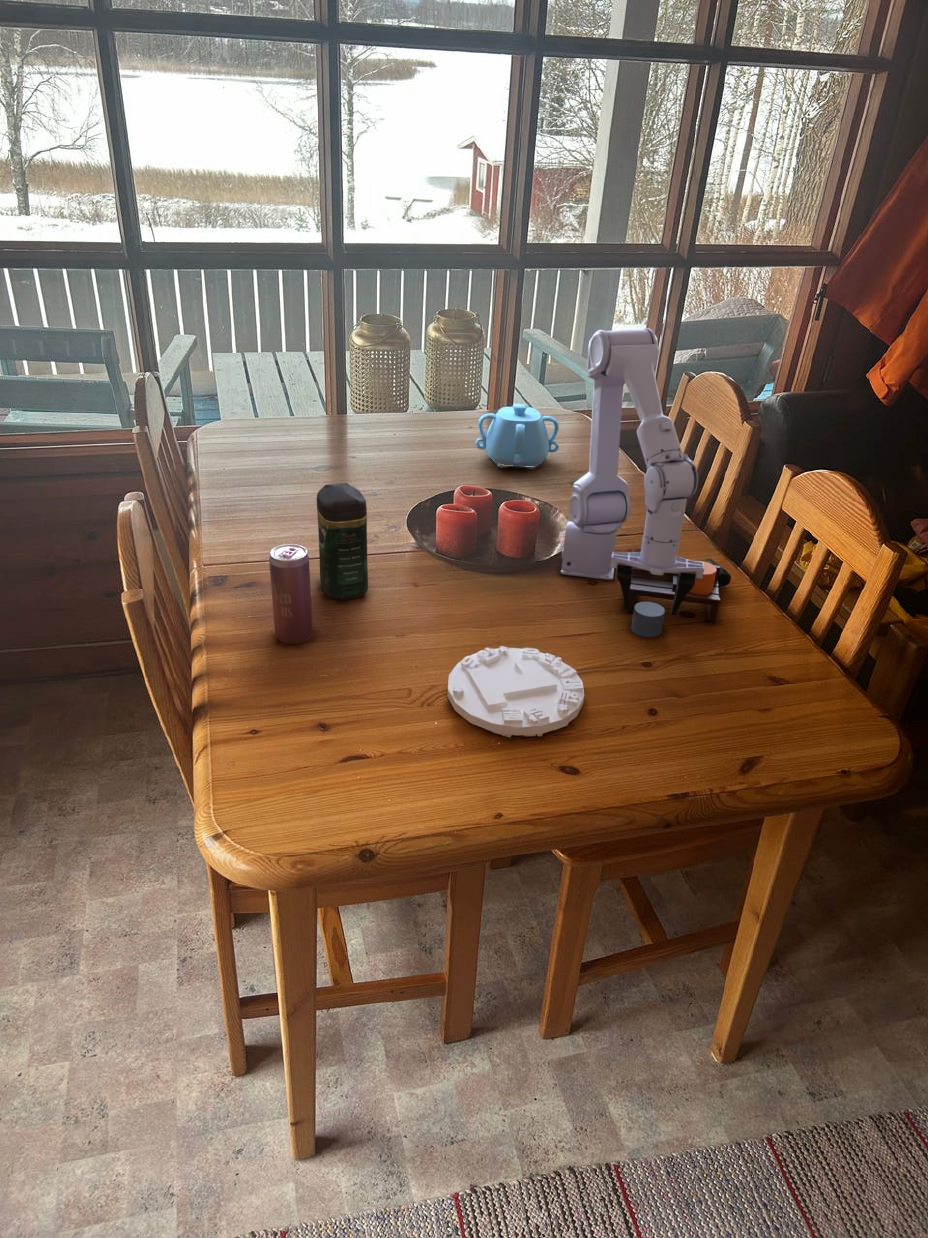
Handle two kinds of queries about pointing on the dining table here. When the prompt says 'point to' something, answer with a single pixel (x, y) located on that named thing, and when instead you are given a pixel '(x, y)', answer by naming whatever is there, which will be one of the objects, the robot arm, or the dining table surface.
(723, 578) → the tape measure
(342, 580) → the coffee jar
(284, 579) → the beverage can
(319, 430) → the dining table surface
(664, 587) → the rack
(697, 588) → the orange squat cylinder
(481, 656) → the white flat round disc
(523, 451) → the decorative pot
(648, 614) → the grey squat cylinder
